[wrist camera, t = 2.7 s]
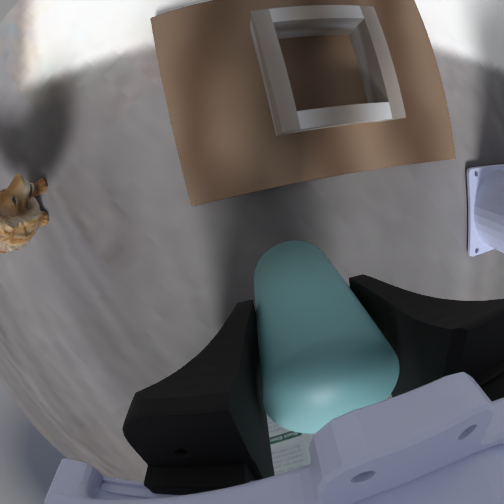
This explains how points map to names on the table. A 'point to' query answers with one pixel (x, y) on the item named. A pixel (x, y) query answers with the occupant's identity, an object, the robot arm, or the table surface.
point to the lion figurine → (20, 213)
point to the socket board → (298, 91)
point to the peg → (315, 341)
